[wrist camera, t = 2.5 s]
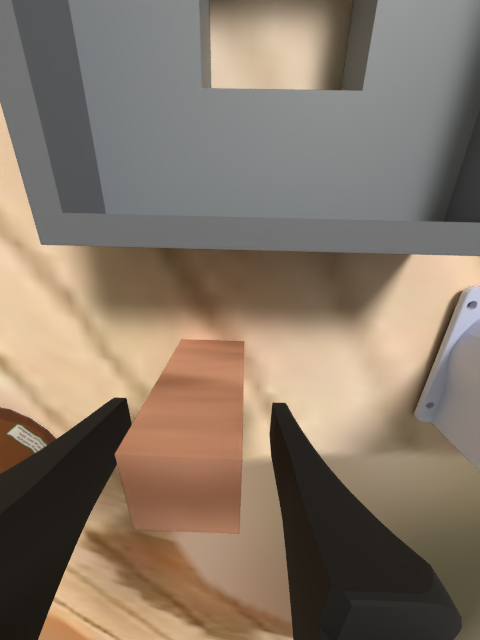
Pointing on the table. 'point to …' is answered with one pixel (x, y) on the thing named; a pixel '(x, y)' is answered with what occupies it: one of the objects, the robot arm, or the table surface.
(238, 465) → the peg
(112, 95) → the hole box
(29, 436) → the food container
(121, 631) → the table surface
